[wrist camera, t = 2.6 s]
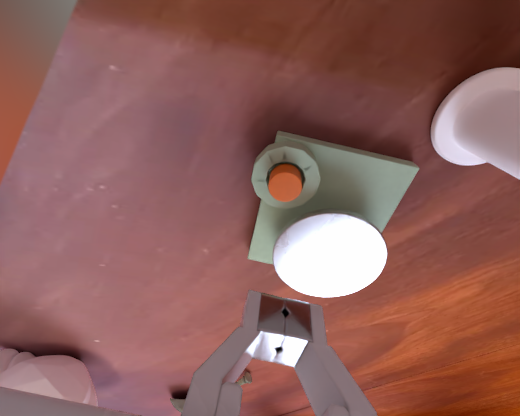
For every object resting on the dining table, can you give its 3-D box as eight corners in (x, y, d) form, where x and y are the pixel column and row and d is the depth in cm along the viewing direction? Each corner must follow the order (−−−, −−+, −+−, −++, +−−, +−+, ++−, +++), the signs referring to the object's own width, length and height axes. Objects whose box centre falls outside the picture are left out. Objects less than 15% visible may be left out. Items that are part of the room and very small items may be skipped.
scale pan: (288, 196, 20) (287, 200, 20) (406, 222, 21) (410, 228, 20) (263, 279, 26) (262, 285, 25) (357, 299, 26) (359, 306, 25)
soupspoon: (166, 391, 52) (191, 402, 54) (159, 411, 49) (186, 422, 52) (236, 364, 42) (263, 379, 44) (232, 387, 39) (262, 402, 42)
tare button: (273, 160, 20) (272, 168, 19) (305, 167, 20) (306, 176, 19) (266, 188, 22) (265, 198, 20) (296, 194, 22) (296, 205, 20)
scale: (263, 126, 21) (259, 136, 19) (413, 161, 22) (429, 175, 19) (238, 248, 29) (233, 267, 26) (350, 273, 29) (355, 294, 27)
